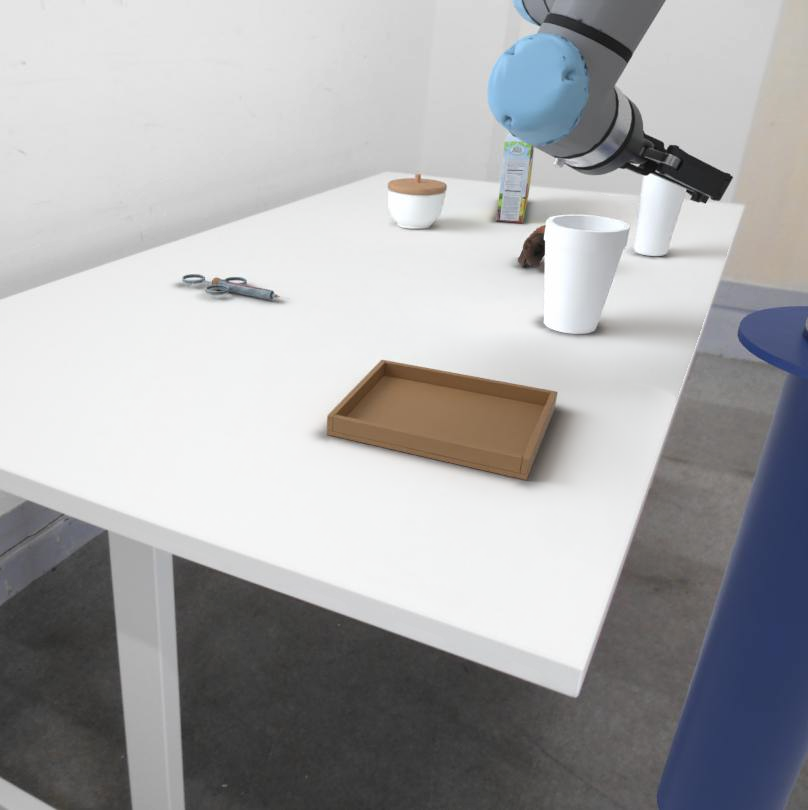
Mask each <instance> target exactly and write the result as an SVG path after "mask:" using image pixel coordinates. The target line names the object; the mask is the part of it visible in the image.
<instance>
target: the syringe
mask: <svg viewBox="0 0 808 810" xmlns="http://www.w3.org/2000/svg"><path fill="white" fill-rule="evenodd" d="M194 278H196V279H194ZM181 281H182V282H183V283H184V284H188V285H197V284H202V283H209V284H210V285H207V286H205V288H204V289H205V290H204V292H205V293H206V294H207V295H210V296H211V295H213V296H220V295H221V296H222V295H226V294H228V293H230V292H231V293H235V294H240V295H246V296H250V297H254V298H260V299H263V300H268V301H272V300H273V299H276V298H282V299H285V297H284V296H280V295H278V294H277V293H275V291H274V290H272V289H268V288H263V287H259V286H253V285H249V284H248V280H247V279H246V278H245V277H241V276H230V277H226V278H224V279H223V278H220V277H214V278H213V279H212V280H211V281H209V280H206V276H204V275H203V274H198V273H190V274H185V275H183V276H182V277H181ZM235 281H238V282H235ZM286 299H287V300H289V298H288V297H286Z"/></svg>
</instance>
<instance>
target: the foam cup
mask: <svg viewBox="0 0 808 810" xmlns="http://www.w3.org/2000/svg"><path fill="white" fill-rule="evenodd" d="M545 221H546V222H545V225H546V227H545V234H544V240H545V256H544V282H543V283H544V285H543V286H544V287H543V324H544V325H545V326H546V328H549V329H551V330H553V331H555V332H560V333H563V334H572V335H583V334H591V333H593V332H595V331H596V329H597V327H598V324H599V321H600V319H601V316H602V313H603V310H604V307H605V304H606V301H607V298H608V296H609V293H610V290H611V288H612V287H611V286H612V284H613V280H614V278H615V276H616V272H617V269H618V266H619V264H620V260H621V257H622V256H623V255H622V254H623V251H624V250H625V249H626V247H627V245H628V240H629V235H630V229H631V224H629V223H628V222H626V221H623V220H620V219H617V218H613V217H608V216H603V215H602V216H601V215H593V214H580V213H579V214H577V213H576V214H575V213H574V214H573V213H572V214H571V213H570V214H558V215H552V216H550V217H548V218H547V219H546V220H545Z"/></svg>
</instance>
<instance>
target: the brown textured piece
mask: <svg viewBox="0 0 808 810" xmlns="http://www.w3.org/2000/svg"><path fill="white" fill-rule="evenodd" d="M545 227H546V224H544V225H540V226H539V227H537V228H536V229H535V230H533V231H532V232H531V233H530V235H529V236H528V237H527V238H526V239H525V240H524V242H523V245H522V250H521V252H520V254H519V256H518V258H517V262H518V264H519V265H520V266H521V267H522V268H525V266H526V263H527V264H528V265H529V266H532V267H540V265H541V262H542V261H543V259H544V258H545V240H544V234H545Z"/></svg>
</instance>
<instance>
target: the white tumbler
mask: <svg viewBox="0 0 808 810" xmlns="http://www.w3.org/2000/svg"><path fill="white" fill-rule="evenodd" d="M641 181H642V182H641V186H640V195H639V201H638V203H639V204H638V211H637V221H636V228H635V229H636V230H635V237H634V241H633V252H635V253H637V254H638V255H643V256H647V257H664V256H665V255H668V253H669V249H670V246H671V241H672V238H673V235H674V232H675V228H676V225H677V222H678V218H679V216H680V212H681V209H682V207H683V204H684V200H685V197H686V194H687V192H686V190H687V189H685V188H682V187H680V186H678V185H676V184H673V183H671V182H669V181H666V180H664V179H662V178H660V177H657V176H655V175H653V174H649V175H647V176H644V175H642V179H641Z"/></svg>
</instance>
